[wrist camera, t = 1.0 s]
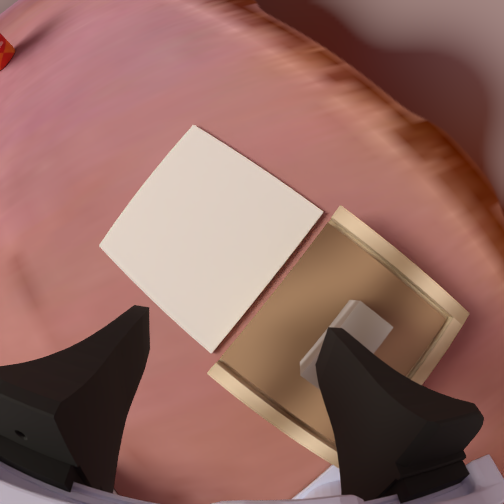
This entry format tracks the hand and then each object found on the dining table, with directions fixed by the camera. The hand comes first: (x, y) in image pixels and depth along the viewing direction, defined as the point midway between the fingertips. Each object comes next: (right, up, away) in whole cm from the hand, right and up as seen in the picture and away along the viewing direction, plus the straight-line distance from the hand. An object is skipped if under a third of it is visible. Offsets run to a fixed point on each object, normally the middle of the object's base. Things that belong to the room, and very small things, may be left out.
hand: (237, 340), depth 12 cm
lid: (+6, -2, +7) cm, 10 cm away
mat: (-4, +5, +13) cm, 15 cm away
